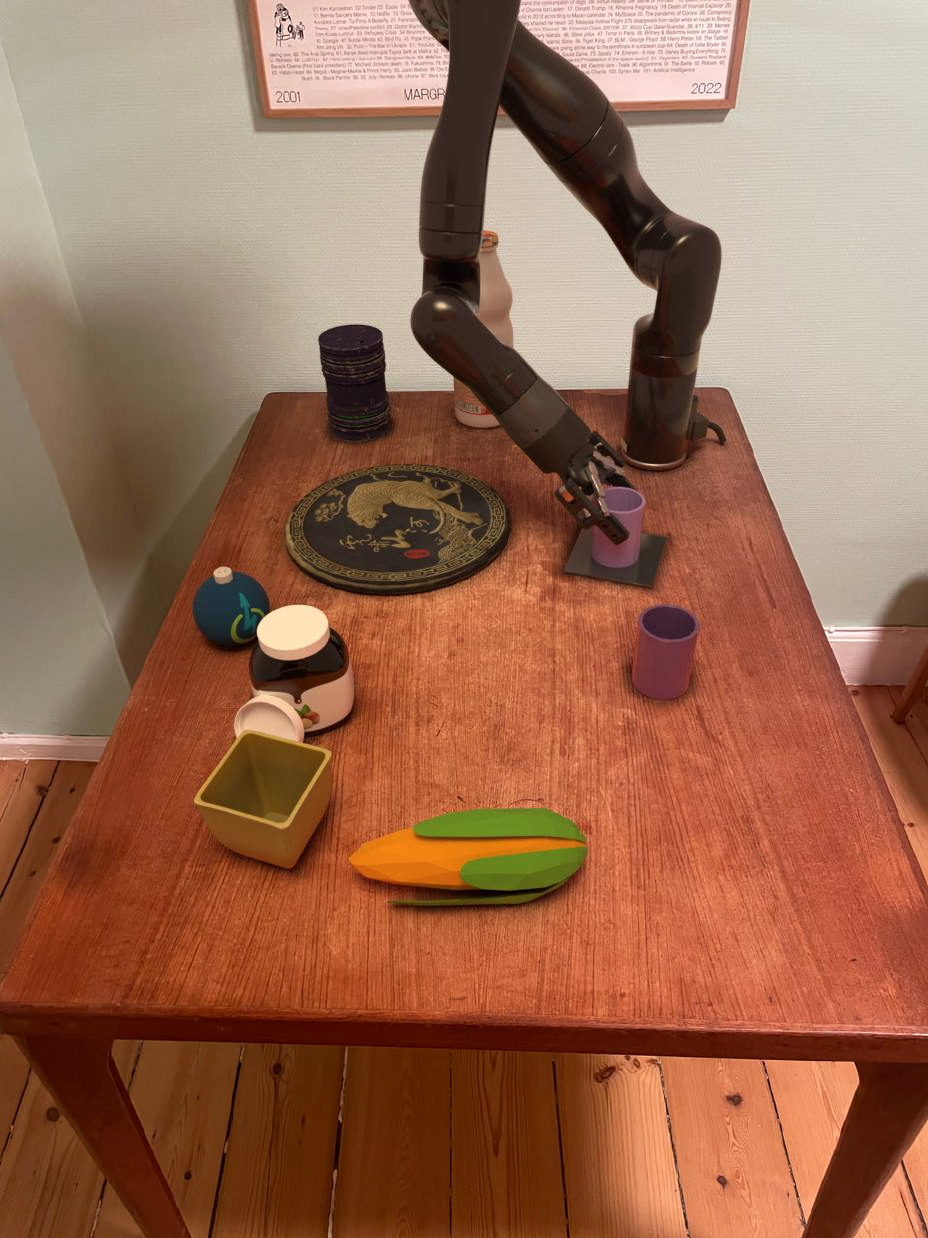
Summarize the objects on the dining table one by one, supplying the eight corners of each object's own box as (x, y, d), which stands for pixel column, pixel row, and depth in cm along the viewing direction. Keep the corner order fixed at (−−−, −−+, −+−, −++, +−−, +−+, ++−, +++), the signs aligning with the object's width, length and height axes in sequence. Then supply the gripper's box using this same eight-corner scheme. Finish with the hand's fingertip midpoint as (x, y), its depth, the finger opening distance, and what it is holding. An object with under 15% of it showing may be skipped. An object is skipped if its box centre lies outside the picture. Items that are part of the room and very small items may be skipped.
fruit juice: (455, 430, 141) (448, 246, 123) (454, 403, 148) (447, 226, 130) (514, 428, 141) (516, 243, 123) (511, 401, 148) (512, 223, 130)
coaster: (583, 526, 119) (583, 523, 118) (667, 539, 116) (667, 537, 115) (563, 573, 111) (563, 570, 110) (652, 589, 108) (652, 586, 107)
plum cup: (666, 655, 98) (675, 597, 93) (700, 688, 94) (711, 630, 89) (620, 672, 96) (627, 614, 91) (653, 707, 92) (661, 648, 87)
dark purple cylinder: (317, 427, 143) (304, 336, 133) (365, 407, 148) (356, 318, 138) (355, 448, 137) (343, 355, 128) (404, 427, 142) (397, 335, 133)
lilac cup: (621, 535, 116) (626, 482, 111) (648, 559, 112) (655, 504, 107) (582, 548, 114) (585, 494, 109) (607, 572, 110) (612, 517, 105)
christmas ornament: (205, 668, 99) (185, 597, 93) (197, 623, 105) (178, 554, 99) (281, 651, 101) (265, 579, 94) (269, 607, 107) (254, 538, 101)
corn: (598, 851, 69) (340, 869, 69) (593, 913, 74) (350, 930, 73) (582, 782, 75) (344, 798, 75) (578, 843, 80) (354, 859, 79)
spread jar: (354, 680, 97) (342, 595, 89) (363, 758, 88) (350, 670, 81) (242, 696, 95) (220, 611, 88) (240, 776, 87) (215, 689, 79)
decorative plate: (503, 589, 105) (256, 579, 108) (503, 602, 106) (258, 592, 109) (516, 464, 129) (312, 459, 131) (516, 476, 130) (313, 471, 132)
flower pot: (346, 815, 82) (334, 749, 77) (302, 894, 76) (286, 828, 70) (261, 793, 85) (244, 727, 79) (213, 867, 78) (190, 801, 73)
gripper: (549, 434, 98) (644, 538, 102) (579, 380, 108) (664, 477, 112) (503, 470, 102) (595, 568, 107) (536, 415, 113) (619, 506, 117)
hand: (630, 521), depth 109 cm, fingers open, 8 cm apart
